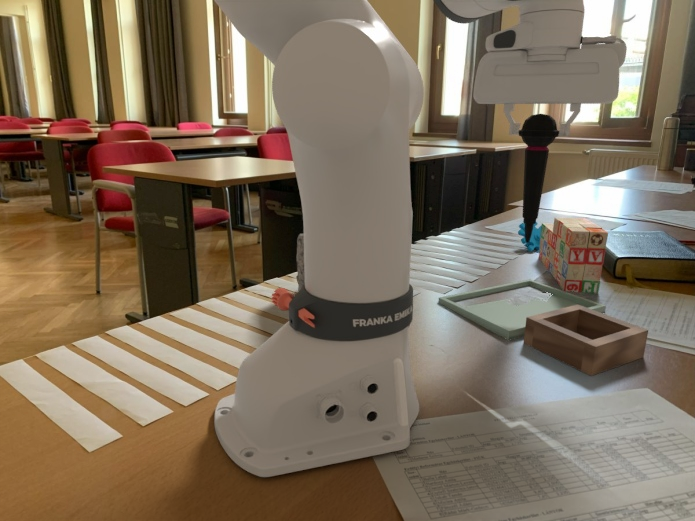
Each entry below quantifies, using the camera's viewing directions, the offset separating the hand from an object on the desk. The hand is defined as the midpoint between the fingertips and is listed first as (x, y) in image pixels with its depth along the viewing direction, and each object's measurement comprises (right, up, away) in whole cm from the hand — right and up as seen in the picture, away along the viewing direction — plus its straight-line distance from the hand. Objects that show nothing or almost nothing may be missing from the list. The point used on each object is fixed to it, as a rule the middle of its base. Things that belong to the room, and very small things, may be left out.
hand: (538, 135), depth 79 cm
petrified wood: (-29, -26, +12) cm, 41 cm away
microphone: (0, -16, +5) cm, 17 cm away
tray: (0, -28, +8) cm, 29 cm away
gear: (+17, -19, +42) cm, 49 cm away
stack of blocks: (+15, -23, +26) cm, 38 cm away
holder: (+4, -32, -7) cm, 33 cm away
